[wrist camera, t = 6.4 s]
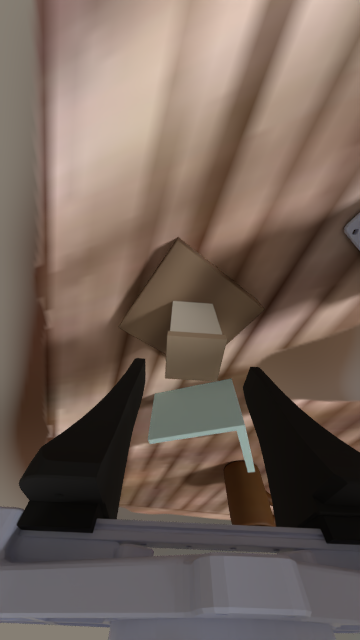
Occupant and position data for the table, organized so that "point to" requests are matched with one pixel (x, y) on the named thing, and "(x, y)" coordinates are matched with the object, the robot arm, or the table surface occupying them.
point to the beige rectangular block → (194, 342)
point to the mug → (247, 496)
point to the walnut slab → (187, 297)
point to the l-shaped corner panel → (199, 415)
